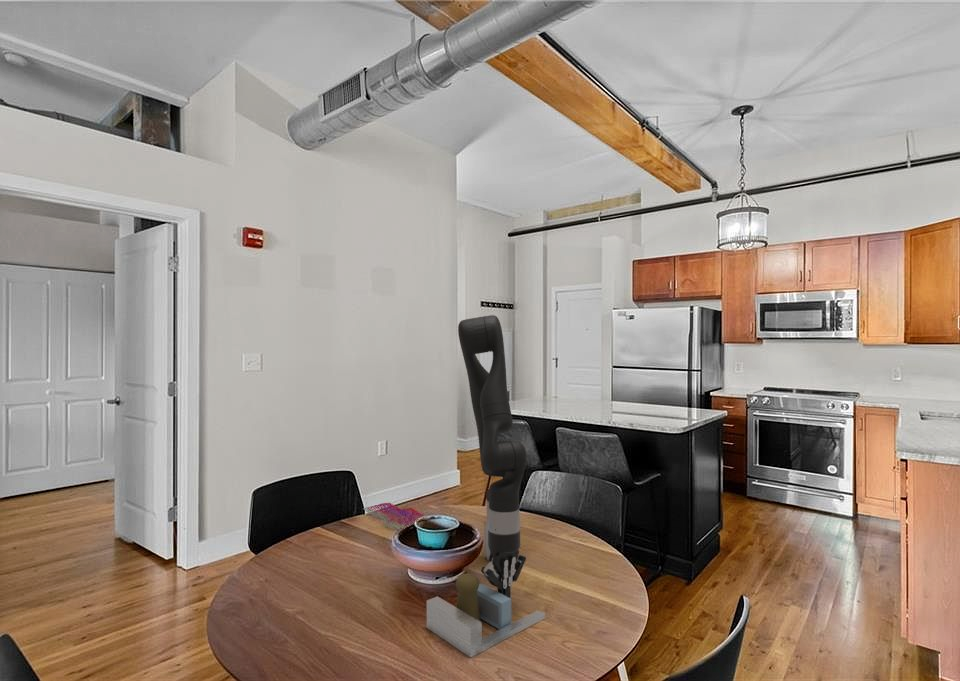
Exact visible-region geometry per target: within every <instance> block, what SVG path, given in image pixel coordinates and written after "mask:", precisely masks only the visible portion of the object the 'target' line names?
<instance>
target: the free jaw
mask: <svg viewBox="0 0 960 681" xmlns="http://www.w3.org/2000/svg"><path fill="white" fill-rule="evenodd" d="M497 591H498V590H495V589H492V588H491V587H489V586H487V585H485V584H483V583H479V587H478V590H477V598H478V606H479V614H480V620H483V621H484V622H485V623H488V624H489V625H491V626H493V627H494V628H496V629H497V630H500V629H502V628H504V627H506V626H508V625H510V624H512V598H511V597H510V598H509V597H507V596H505V595H503V594H501V593H499V592H497Z"/></svg>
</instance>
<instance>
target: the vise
mask: <svg viewBox="0 0 960 681" xmlns="http://www.w3.org/2000/svg"><path fill="white" fill-rule="evenodd" d="M496 591H497V592H498V590H496ZM545 619H546V613H545V612H544V611H541V610H539V609H537V610H535V611H533V612H531V613H530V614H528V615H526V616H524V617H521V618H519V619H518V620H516V621H514V622H511V624H510V625H508V626H506V627H504V628H502V629H500V630H499V629H497V630H496V631H494V632H492V633H489V634H488V635H486V636H484V637H482V634H483V633H482V632H483V629H482V628H483V626H482V624H483V623H482V621H481V620H480V621H478V620H477V619H475V618H473V617H472V616H470V615H468V614H466V613H465V612H463V611H461V610H460V609H458V608H456V605H455V606H454V605H453V604H452V603H449V602H448V601H447V600H444V599H442V598H441V597H439V596H438V595H437V596H435V597H432V598H429V599H427V600H426V628H427V630H429V631H431V632H432V633H434V634H435V635H436V636H438V637H440V638H441V639H442V640H444V641H445V642H446V643H449V644H450V645H451V646H453V647H454V648H456V649H457V650H458V651H460V652H462V653H463V654H465V655H466V656H467V657H469V659H470V658H473V657H475V656H477V655H478V654H480V653H482V652H484V651H486V650H488V649H490V648H492V647H493V646H495V645H498V644H499V643H501V642H503V641H504V640H505V641H506V640H507V639H508V638H511V637H512V636H514V635H516V634H518V633H520V632H522V631H524V630H526V629H527V628H530V627H531V626H534V625H536V624H537V623H539V622H541V621H543V620H545Z"/></svg>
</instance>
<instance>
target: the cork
mask: <svg viewBox="0 0 960 681" xmlns="http://www.w3.org/2000/svg"><path fill="white" fill-rule="evenodd" d="M479 584H480V581H479V578H478V576H477V575H476V574H473V573H462V574H460V575H458V576H457V578H456V581H455V587H456V590H457V599H456V605H455V607H456V608H458V609H460V610H461V611H463V612H465V613H466V614H468V615H470V616H472V617H473V618H475V619H477V620H478V621H480V622H481V618H480V614H479V606H478V598H477V590H478V587H479Z"/></svg>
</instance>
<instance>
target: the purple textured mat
mask: <svg viewBox="0 0 960 681" xmlns="http://www.w3.org/2000/svg"><path fill="white" fill-rule="evenodd" d="M362 510H364V511H366V512H367V514H369V515H370V516H371V517H374V518H375V519H376V520H377V519H378V517H379V518H380V519H382V520H380V523H382V524H383V525H385V526H386V528H387V529H388V528H390V530H391V531H392V530H401V529H400V527H401V528H403V527H404V526H405V525H408V524H410V525H411V523H415V522H414V521H415V520H416V519H418V518H419V517H420V516H424V513H421V512H420V511H418V510H416V509H414V508H412V507H409V508H400V507H398V506H397V505H395V504H392V503H391V502H383V503H379V504H375V505H371V506H367V507H363V508H362ZM416 521H417V520H416ZM404 528H405V527H404Z"/></svg>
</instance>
